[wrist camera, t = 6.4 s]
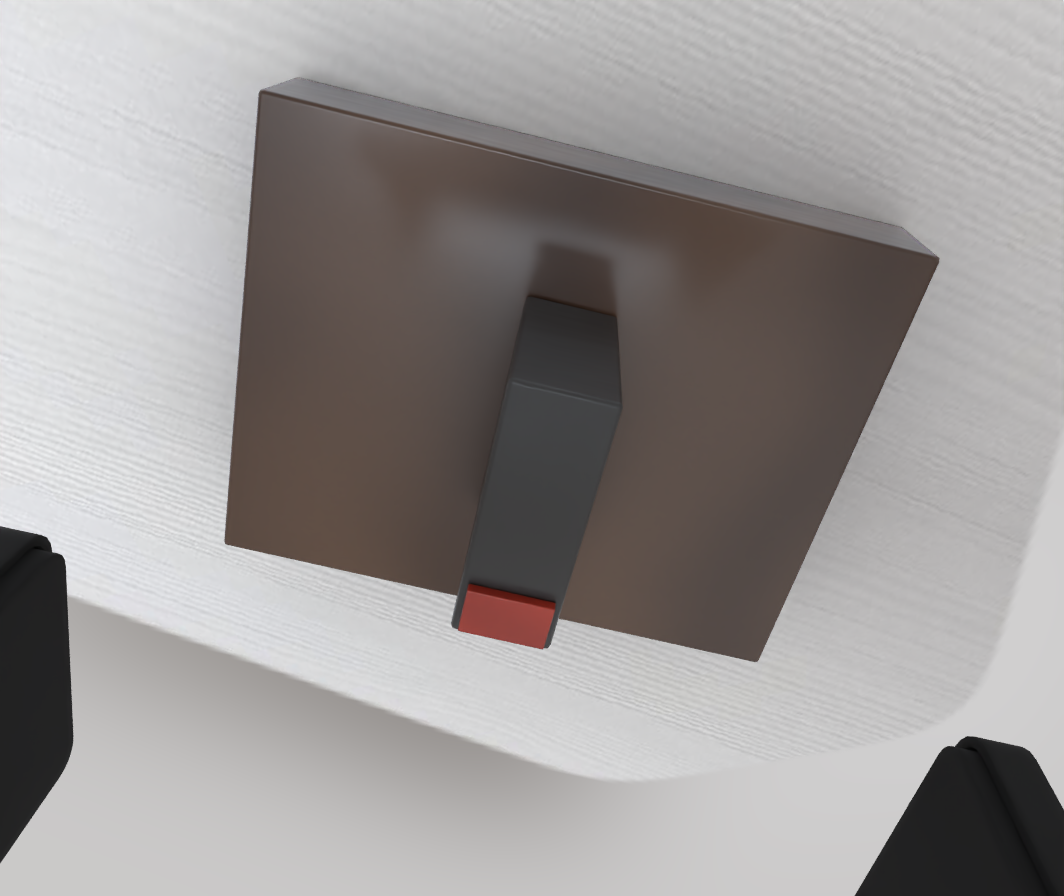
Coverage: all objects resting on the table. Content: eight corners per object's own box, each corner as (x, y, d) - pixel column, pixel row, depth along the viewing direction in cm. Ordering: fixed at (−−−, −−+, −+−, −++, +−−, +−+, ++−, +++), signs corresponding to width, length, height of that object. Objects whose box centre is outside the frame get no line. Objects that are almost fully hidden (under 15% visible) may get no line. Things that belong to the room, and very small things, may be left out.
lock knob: (527, 294, 19) (507, 384, 15) (618, 316, 19) (624, 411, 15) (476, 509, 22) (447, 637, 17) (557, 527, 22) (548, 659, 17)
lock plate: (905, 227, 20) (942, 258, 18) (744, 604, 25) (758, 664, 23) (295, 76, 20) (257, 88, 17) (256, 494, 25) (222, 545, 23)
